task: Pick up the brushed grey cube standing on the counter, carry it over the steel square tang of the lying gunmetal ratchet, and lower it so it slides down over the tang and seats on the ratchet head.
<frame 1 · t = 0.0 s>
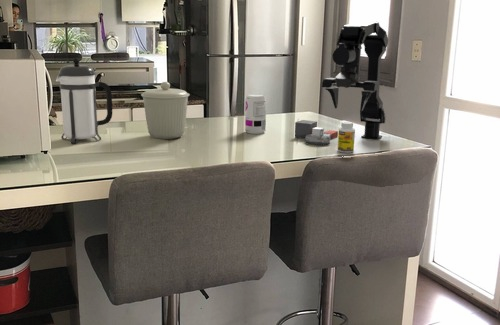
hand: (348, 109, 187), 15 cm above the worktop, tool pointing down, fingers open, 9 cm apart
supplement can: (255, 132, 221), on the worktop
brushed grey cube: (305, 137, 214), on the worktop
coffee press: (84, 140, 203), on the worktop
ratchet: (317, 142, 204), on the worktop
canister: (166, 137, 210), on the worktop
supplement bottle: (345, 152, 191), on the worktop
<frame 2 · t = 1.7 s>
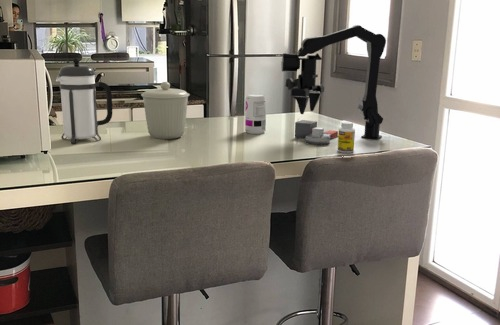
hand: (306, 112, 211), 10 cm above the worktop, tool pointing down, fingers open, 9 cm apart
nothing on the worktop moved.
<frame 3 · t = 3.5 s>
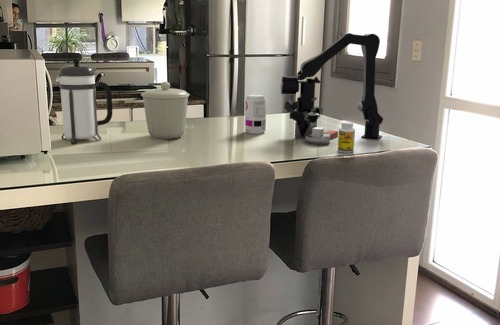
hand: (305, 134, 214), 1 cm above the worktop, tool pointing down, fingers closed on brushed grey cube, 6 cm apart
brushed grey cube: (305, 137, 214), on the worktop, touching gripper
everything else where it was.
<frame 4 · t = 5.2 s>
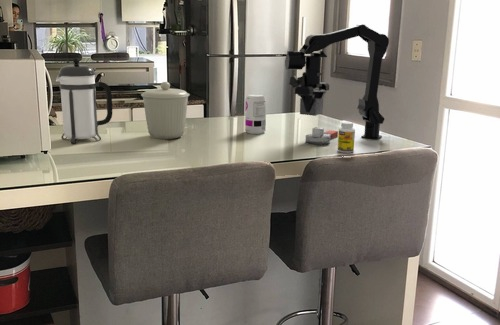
hand: (311, 111, 207), 11 cm above the worktop, tool pointing down, fingers closed on brushed grey cube, 6 cm apart
brushed grey cube: (311, 113, 208), point 10 cm above the worktop, touching gripper
everything else where it was.
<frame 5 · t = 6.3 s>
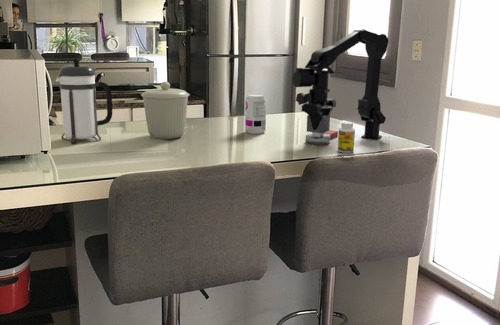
hand: (318, 128, 203), 5 cm above the worktop, tool pointing down, fingers closed on brushed grey cube, 6 cm apart
brushed grey cube: (318, 131, 203), point 4 cm above the worktop, touching gripper
everything else where it was.
when the fingers open (4 cm above the worktop, at t = 7.1 s): brushed grey cube stays where it is, resting on ratchet.
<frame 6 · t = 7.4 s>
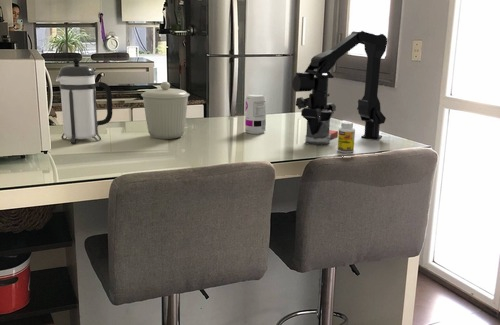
hand: (318, 132, 203), 4 cm above the worktop, tool pointing down, fingers open, 9 cm apart
brushed grey cube: (317, 136, 203), point 2 cm above the worktop, touching ratchet
ratchet: (317, 142, 204), on the worktop, touching brushed grey cube
everything else where it was.
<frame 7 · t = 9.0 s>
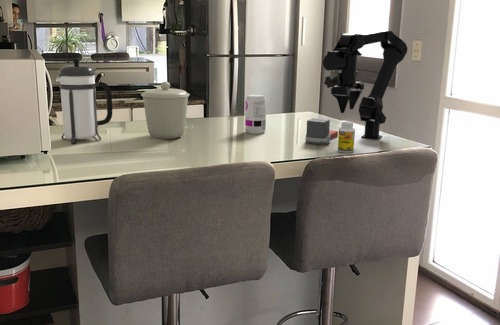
hand: (346, 111, 204), 12 cm above the worktop, tool pointing down, fingers open, 9 cm apart
nothing on the worktop moved.
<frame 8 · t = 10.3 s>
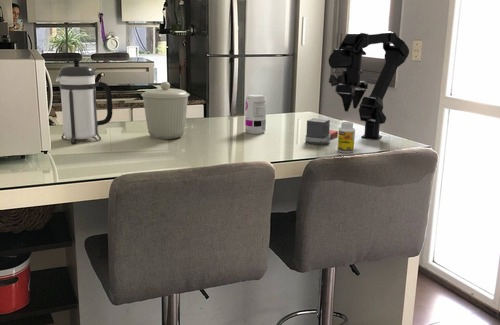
hand: (350, 109, 204), 12 cm above the worktop, tool pointing down, fingers open, 9 cm apart
nothing on the worktop moved.
at the end: brushed grey cube 0.0 cm off-centre on the ratchet, point 2.5 cm above the ratchet's base; brushed grey cube tilted 0°; the gripper is holding nothing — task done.
